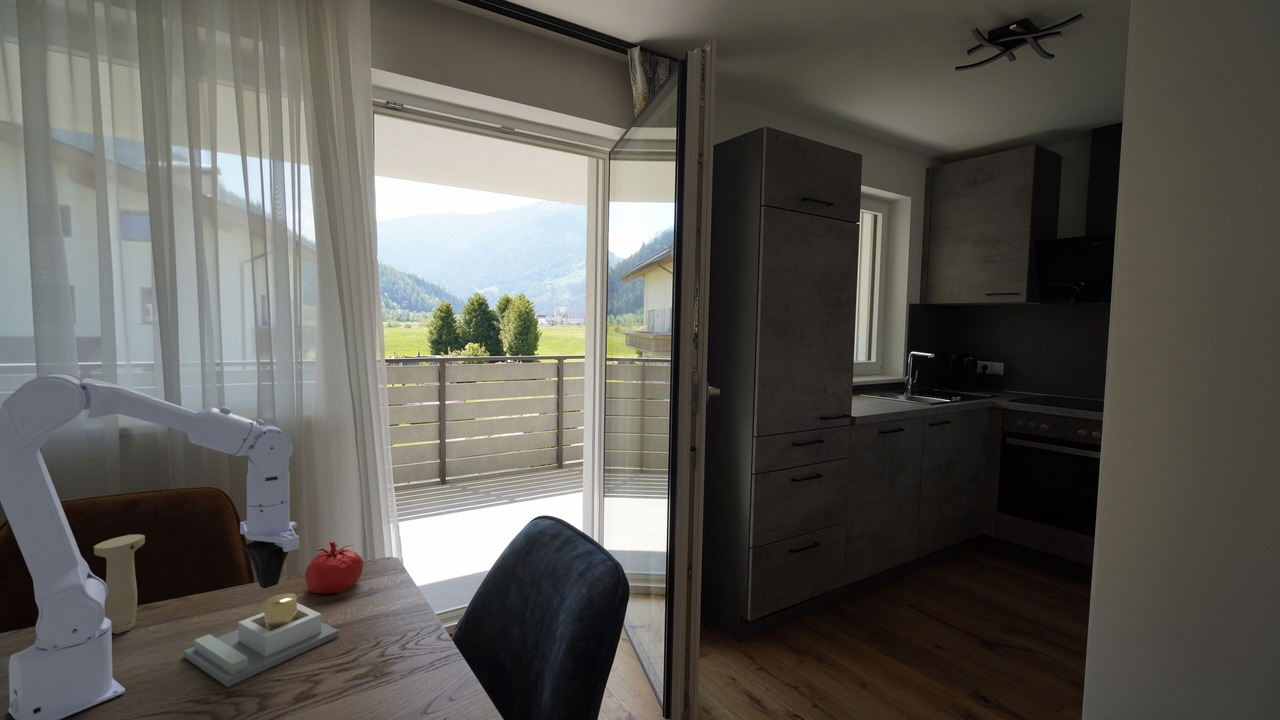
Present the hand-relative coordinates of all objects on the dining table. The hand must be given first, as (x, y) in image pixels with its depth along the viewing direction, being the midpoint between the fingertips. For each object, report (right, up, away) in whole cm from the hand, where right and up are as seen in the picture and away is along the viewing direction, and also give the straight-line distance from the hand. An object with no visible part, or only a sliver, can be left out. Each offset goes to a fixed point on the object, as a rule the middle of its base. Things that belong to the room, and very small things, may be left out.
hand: (269, 585), depth 90 cm
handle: (-27, -9, +3) cm, 29 cm away
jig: (0, -9, -1) cm, 9 cm away
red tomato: (0, -9, +20) cm, 22 cm away
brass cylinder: (+2, -8, 0) cm, 8 cm away
